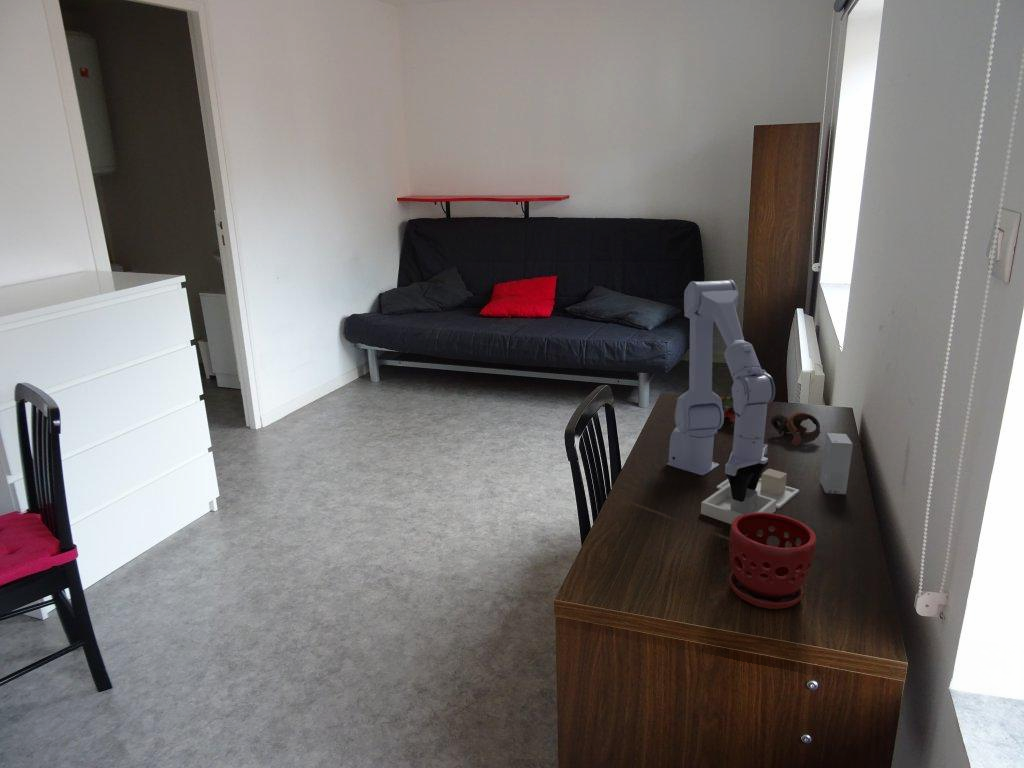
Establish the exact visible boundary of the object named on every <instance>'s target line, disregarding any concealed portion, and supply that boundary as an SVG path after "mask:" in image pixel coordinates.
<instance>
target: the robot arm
mask: <svg viewBox="0 0 1024 768" xmlns="http://www.w3.org/2000/svg"><path fill="white" fill-rule="evenodd" d="M683 292H684V293H683V296H684V297H683V310H684V317H685V318H688V319H689V370H688V371H689V374H688V375H689V376H688V379H689V382H688V384H689V385H688V387H689V388H688V389H687V391H685V392H684V393H683V394H681V395H680V396H679V397H677V399H676V400H677V401H676V408H675V411H674V423H675V426H676V427H675V428H674V429H673V430H672V433H671V434H670V438H669V451H668V462H667V463H666V465H667V466H670V467H674V468H676V469H677V468H678V469H681V470H683V471H687V472H691V473H692V474H693V473H694V474H696V475H700V476H704V475H707V474H708V473H709V472H710V471H712V470H714V469H715V468H717V467H719V465H720V464H719V463H717V462H714V461H713V457H714V456H713V454H714V452H713V451H714V443H715V442H714V441H715V434H718V430H720V429H722V426H723V425H724V422H725V417H724V412H723V408H722V399H721V397H720V395H718V394H717V393H715V392H714V391H713V351H714V350H713V345H714V344H713V343H714V323H715V324H716V327H717V329H718V331H719V332H720V334H721V337H722V339H723V341H724V343H725V346H726V349H725V351H724V353H723V357H724V359H725V361H726V364H727V368H728V369H729V370H728V371H729V373H730V375H731V378H732V381H733V383H732V385H731V396H733V402H734V403H733V408H734V411H735V412H736V413H735V414H734V415H735V418H734V420H735V421H734V427H733V428H734V430H733V438H732V439H733V440H732V451H731V453H730V455H729V459H728V461H727V463H725V464H724V466H723V472H724V474H725V476H726V477H727V479H728V480H729V483H730V487H731V493H732V498H733V500H736V501H740V502H743V501H744V499H745V496H746V491H747V488H748V489H751V490H756V487H757V484H758V481H759V479H760V478H761V477H762V473H763V472H765V471H764V470H765V469H766V467H767V466H768V465H769V458H768V457H765V455H768V447H769V445H768V444H764V443H765V442H764V441H765V433H766V425H767V424H766V423H767V411H768V404H771V403H772V402H773V401H774V399H775V396H776V385H775V382H774V379H773V377H772V375H770V374H769V373H768V372H767V370H765V369H762V367H761V364H760V362H759V359H758V357H757V355H756V351H755V349H754V345H753V344H752V343H750V342H748V341H745V337H744V335H743V331H742V327H741V324H740V320H739V315H738V312H737V307H738V304H739V299H740V298H739V296H740V295H739V288H738V285H737V283H735V281H734V280H733V279H726V280H708V281H707V280H706V281H696V280H695V281H694V280H691V281H690V282H689V283H688V285H687V286H686V288H685V290H684V291H683Z"/></svg>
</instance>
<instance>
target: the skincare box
mask: <svg viewBox="0 0 1024 768" xmlns="http://www.w3.org/2000/svg"><path fill="white" fill-rule="evenodd" d="M853 446H854V443H852V440H851V439H850V438H849V436H848V435H847V434H846V433H833V432H827V433H826V435H825V444H824V450H823V456H822V465H821V471H820V472H821V473H820V481H819V482H820V484H821V486H822V489H823V491H824V493H826V494H837V495H847V490H848V489H847V488H848V482H849V481H848V480H849V474H850V469H851V468H850V467H851V461H852V453H853Z"/></svg>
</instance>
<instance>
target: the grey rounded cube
mask: <svg viewBox="0 0 1024 768" xmlns="http://www.w3.org/2000/svg"><path fill="white" fill-rule="evenodd" d="M757 494H758V491H755V490H751V489H748V488H747V491H746V496H745V499H744V501H743V502H740V501H736V500H733V498H732V493H731V507H730V510H733V511H736V512H739V513H742V514H747V513H752V512H754V511H755V510H756V509H757Z"/></svg>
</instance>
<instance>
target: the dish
mask: <svg viewBox="0 0 1024 768" xmlns="http://www.w3.org/2000/svg"><path fill="white" fill-rule="evenodd" d="M776 501H777V500H775V499H772V498H769V497H765V496H762V495H759V494H757V509H756V510H755V511H754V512H752V513H757V512H763V513H773V514H775V512H776V510H777V508H776ZM730 507H731V487H730V485H726V486H724V487H723V488H721V489H720V490H719V489H717V491H715V492H714V493H712V494H711V495H710V496H709V497H707V498H706V499H704V500H702V501H701V506H700V514H701V515H704V516H707V517H710V518H711V519H715V520H717V521H720V522H724V523H727V524H730V525H732V522H733V520H734V519H735V518H736V517H738V516H740V515H743V514H742V513H739V512H736V511H733V510H730Z"/></svg>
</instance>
